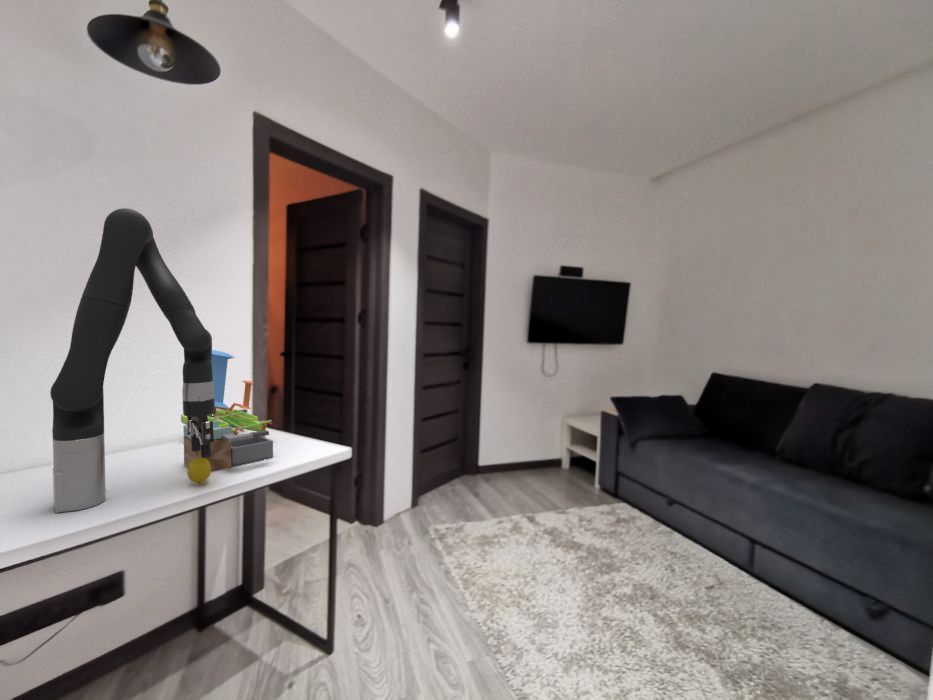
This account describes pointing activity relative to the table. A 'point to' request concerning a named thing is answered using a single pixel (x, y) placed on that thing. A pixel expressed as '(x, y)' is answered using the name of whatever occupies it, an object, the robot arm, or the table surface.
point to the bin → (250, 450)
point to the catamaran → (226, 413)
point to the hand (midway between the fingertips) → (200, 453)
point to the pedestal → (218, 454)
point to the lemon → (199, 470)
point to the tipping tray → (229, 433)
